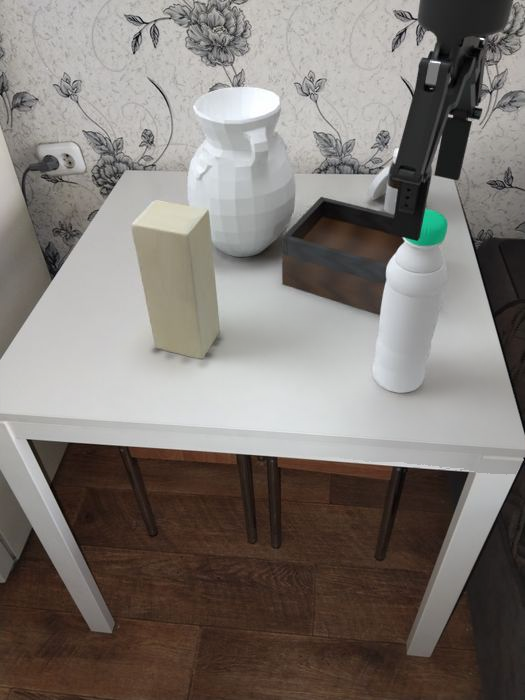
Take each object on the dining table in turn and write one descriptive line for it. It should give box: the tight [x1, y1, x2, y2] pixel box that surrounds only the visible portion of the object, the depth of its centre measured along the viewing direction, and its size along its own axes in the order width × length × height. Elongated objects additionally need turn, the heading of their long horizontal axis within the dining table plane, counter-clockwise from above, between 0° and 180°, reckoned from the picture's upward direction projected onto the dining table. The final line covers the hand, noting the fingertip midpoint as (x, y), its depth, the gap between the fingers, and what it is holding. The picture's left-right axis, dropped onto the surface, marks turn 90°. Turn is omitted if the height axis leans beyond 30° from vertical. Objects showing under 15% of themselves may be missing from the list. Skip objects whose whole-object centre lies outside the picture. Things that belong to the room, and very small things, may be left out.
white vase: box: [186, 86, 297, 258], centre depth 98 cm, size 19×18×25 cm
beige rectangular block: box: [130, 199, 221, 360], centre depth 81 cm, size 8×7×21 cm
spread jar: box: [367, 146, 433, 215], centre depth 109 cm, size 12×11×12 cm
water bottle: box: [371, 208, 449, 394], centre depth 73 cm, size 7×7×25 cm
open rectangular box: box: [281, 196, 405, 316], centre depth 95 cm, size 18×14×9 cm
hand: (427, 204), depth 63 cm, fingers open, 13 cm apart
